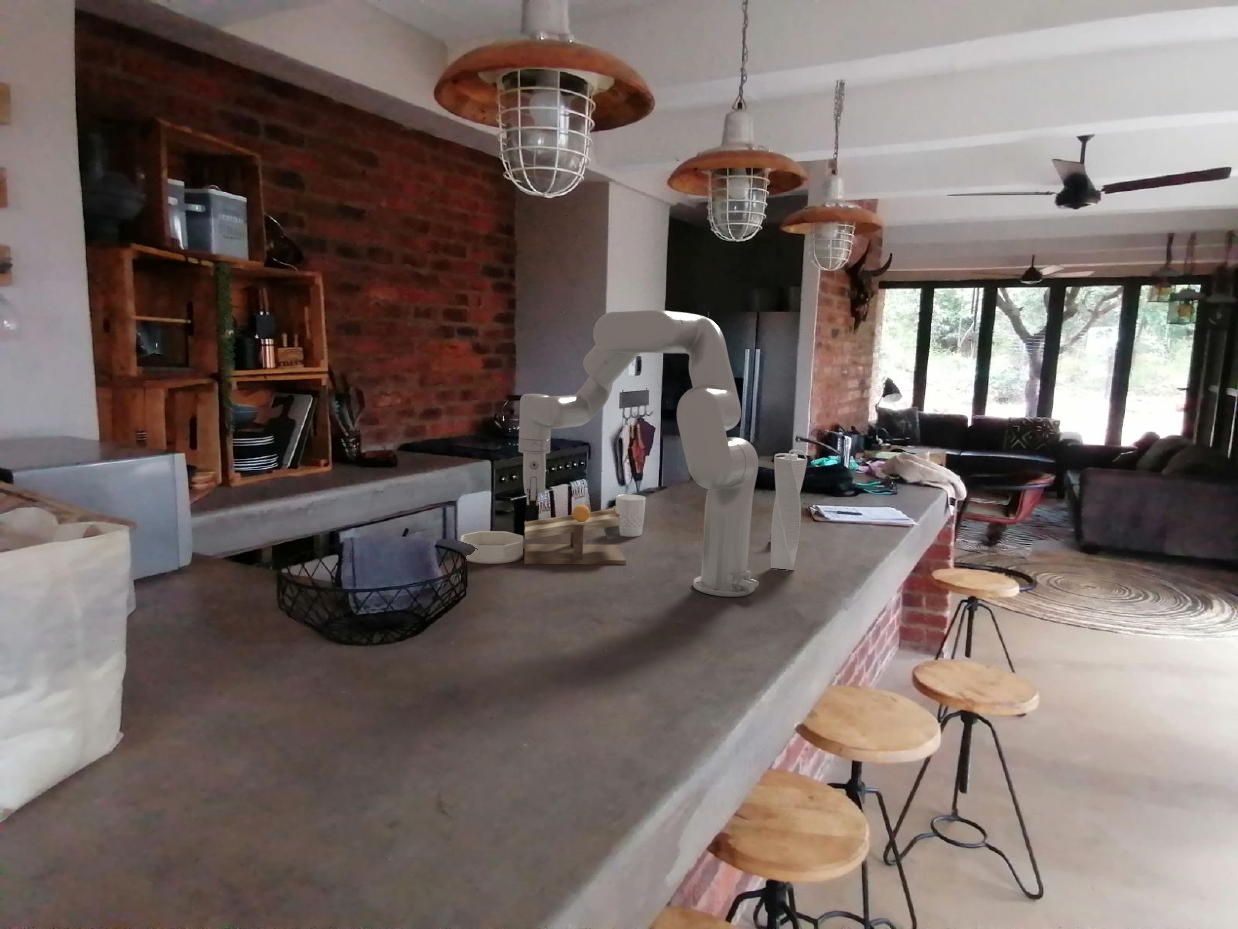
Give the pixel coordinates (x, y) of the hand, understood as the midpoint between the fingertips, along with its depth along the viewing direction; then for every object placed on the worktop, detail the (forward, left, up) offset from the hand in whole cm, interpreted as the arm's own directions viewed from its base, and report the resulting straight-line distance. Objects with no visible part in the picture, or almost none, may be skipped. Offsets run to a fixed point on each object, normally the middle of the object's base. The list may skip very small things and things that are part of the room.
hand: (531, 520), depth 192 cm
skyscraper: (-43, -42, -7) cm, 61 cm away
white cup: (0, -30, -7) cm, 31 cm away
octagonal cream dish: (-2, +12, -7) cm, 14 cm away
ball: (-13, -6, +4) cm, 14 cm away
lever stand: (-12, -5, -7) cm, 15 cm away
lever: (-9, -6, -3) cm, 11 cm away
